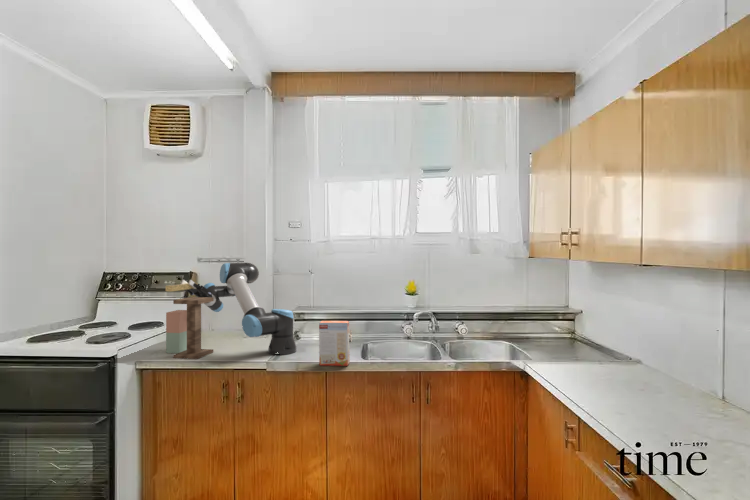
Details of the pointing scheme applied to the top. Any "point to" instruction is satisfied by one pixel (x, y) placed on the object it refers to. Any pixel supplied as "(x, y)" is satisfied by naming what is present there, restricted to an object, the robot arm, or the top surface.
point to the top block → (176, 321)
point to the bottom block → (176, 342)
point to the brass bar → (178, 287)
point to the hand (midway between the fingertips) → (186, 281)
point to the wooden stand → (193, 327)
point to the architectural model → (350, 335)
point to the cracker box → (334, 343)
